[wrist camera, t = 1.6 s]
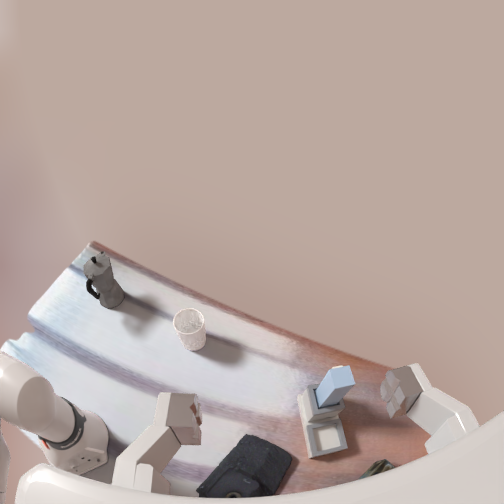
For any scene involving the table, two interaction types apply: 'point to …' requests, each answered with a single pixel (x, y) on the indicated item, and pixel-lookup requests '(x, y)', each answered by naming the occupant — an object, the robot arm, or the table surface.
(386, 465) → the beverage carton
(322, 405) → the plug
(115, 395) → the table surface
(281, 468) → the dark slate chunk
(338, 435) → the stepped base with tray
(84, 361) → the table surface
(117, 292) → the coffeepot
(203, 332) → the white cup
